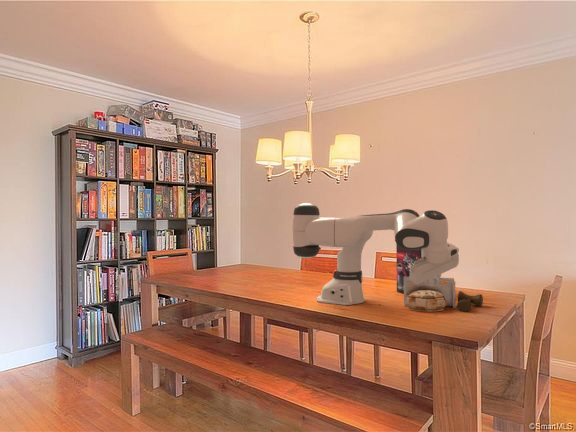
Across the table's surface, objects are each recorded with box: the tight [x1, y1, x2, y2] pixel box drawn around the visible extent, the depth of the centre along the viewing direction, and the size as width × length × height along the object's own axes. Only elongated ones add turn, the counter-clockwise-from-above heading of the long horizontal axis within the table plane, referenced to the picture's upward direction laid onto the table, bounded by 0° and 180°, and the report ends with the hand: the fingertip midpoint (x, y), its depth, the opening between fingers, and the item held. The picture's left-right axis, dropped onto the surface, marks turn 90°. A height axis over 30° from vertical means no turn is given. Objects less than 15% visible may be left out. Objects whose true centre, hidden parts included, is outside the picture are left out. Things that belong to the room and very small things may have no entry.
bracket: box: [403, 276, 457, 309], centre depth 164 cm, size 21×6×12 cm, turn 73°
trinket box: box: [406, 290, 446, 312], centre depth 158 cm, size 13×15×8 cm
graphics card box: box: [395, 243, 422, 294], centre depth 186 cm, size 17×7×27 cm, turn 27°
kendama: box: [456, 290, 484, 313], centre depth 160 cm, size 6×10×20 cm
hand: (433, 283), depth 140 cm, fingers closed
